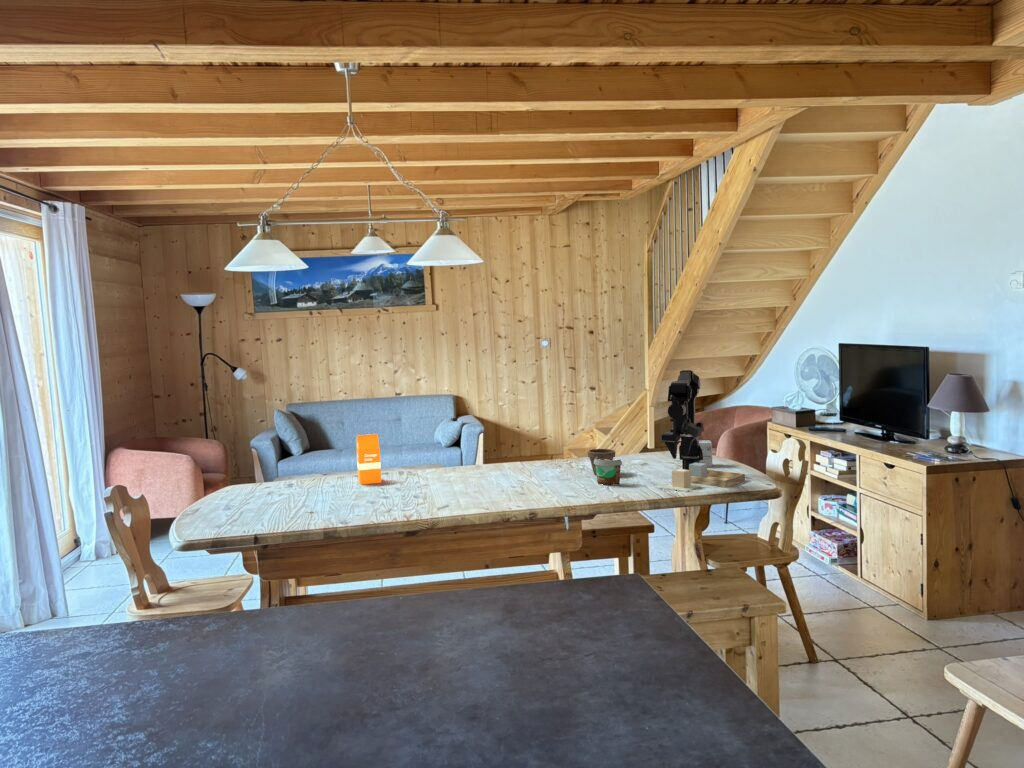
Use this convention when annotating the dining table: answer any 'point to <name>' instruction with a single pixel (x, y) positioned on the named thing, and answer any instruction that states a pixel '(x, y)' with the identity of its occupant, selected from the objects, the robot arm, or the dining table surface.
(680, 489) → the sage tile
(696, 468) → the blue-grey box
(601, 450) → the flower pot
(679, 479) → the tan box
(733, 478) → the wooden tray
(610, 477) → the food container
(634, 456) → the dining table surface
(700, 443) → the light bulb box
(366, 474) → the orange juice
